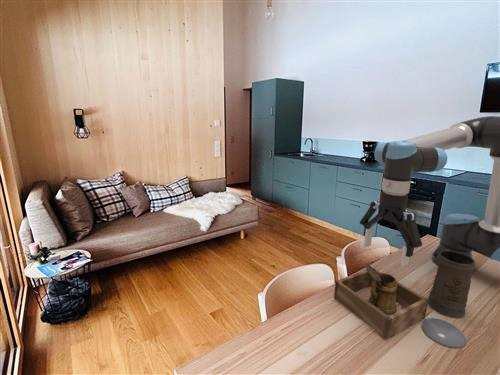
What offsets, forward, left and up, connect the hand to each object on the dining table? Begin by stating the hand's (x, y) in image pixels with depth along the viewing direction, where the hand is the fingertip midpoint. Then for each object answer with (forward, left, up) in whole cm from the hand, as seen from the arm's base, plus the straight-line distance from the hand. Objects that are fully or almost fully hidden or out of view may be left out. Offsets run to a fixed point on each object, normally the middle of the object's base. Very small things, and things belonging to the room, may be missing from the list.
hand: (384, 254), depth 88 cm
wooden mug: (0, 0, -21) cm, 21 cm away
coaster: (-8, +17, -21) cm, 28 cm away
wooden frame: (0, 0, -21) cm, 21 cm away
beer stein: (-23, +9, -21) cm, 32 cm away
